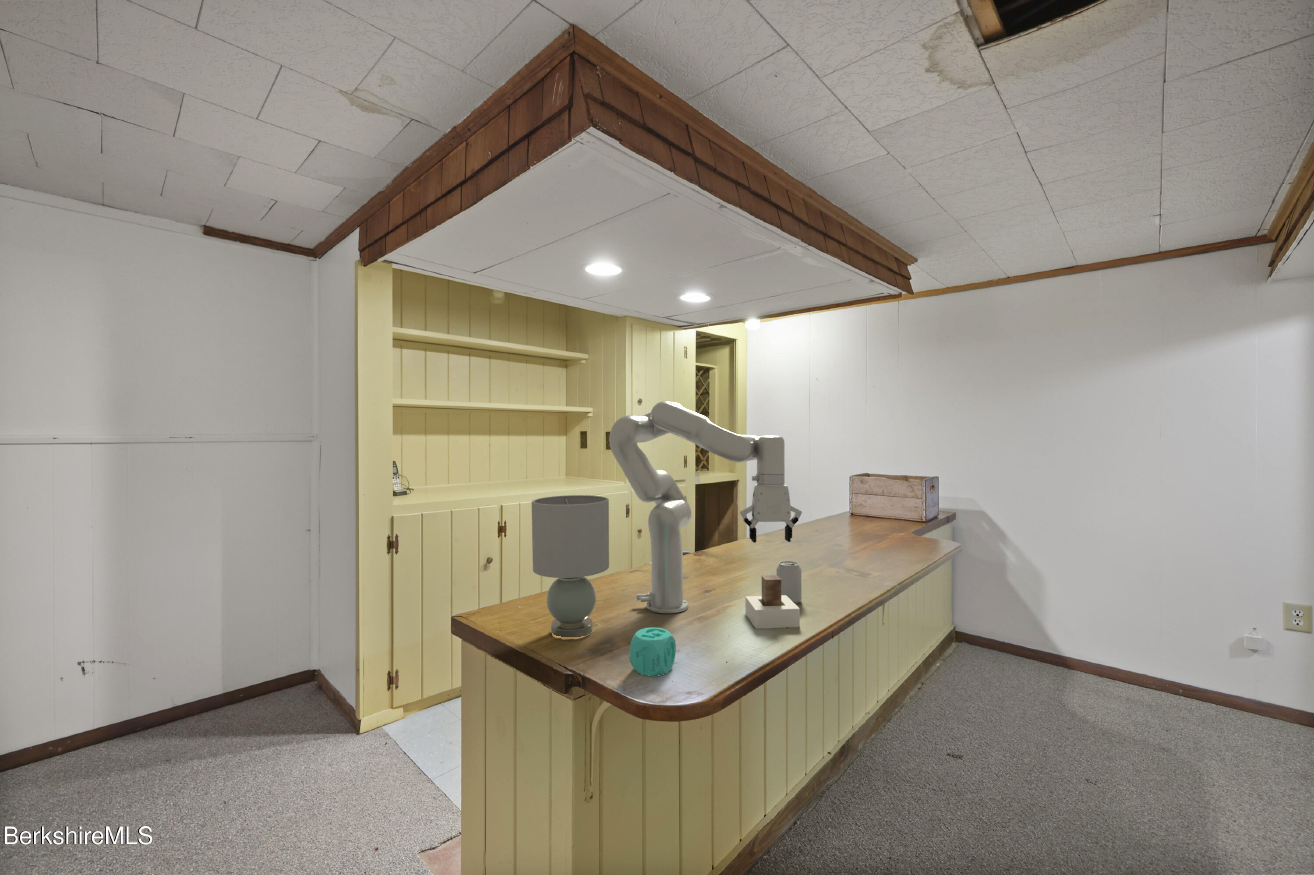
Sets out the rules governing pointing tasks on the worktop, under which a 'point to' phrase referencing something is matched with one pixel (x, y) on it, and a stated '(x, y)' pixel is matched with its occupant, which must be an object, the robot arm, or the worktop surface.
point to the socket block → (772, 613)
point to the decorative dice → (652, 651)
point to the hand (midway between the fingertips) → (770, 541)
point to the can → (790, 580)
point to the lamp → (570, 556)
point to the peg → (771, 590)
